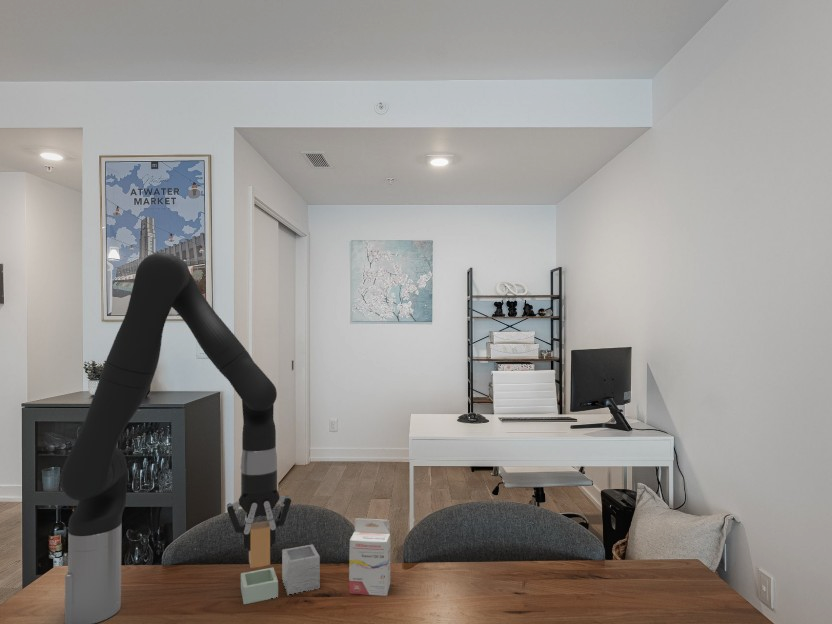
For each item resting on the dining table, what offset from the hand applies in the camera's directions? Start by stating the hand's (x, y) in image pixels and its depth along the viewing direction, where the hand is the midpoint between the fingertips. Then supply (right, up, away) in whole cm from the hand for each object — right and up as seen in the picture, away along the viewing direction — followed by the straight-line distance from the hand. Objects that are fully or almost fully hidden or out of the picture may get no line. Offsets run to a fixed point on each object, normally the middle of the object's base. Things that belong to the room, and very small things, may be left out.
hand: (259, 547), depth 113 cm
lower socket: (0, -10, 0) cm, 10 cm away
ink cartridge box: (+24, -10, +1) cm, 26 cm away
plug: (0, -3, 0) cm, 3 cm away
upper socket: (+8, -10, +3) cm, 13 cm away
